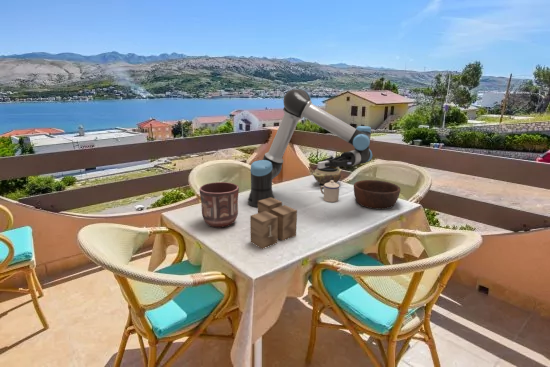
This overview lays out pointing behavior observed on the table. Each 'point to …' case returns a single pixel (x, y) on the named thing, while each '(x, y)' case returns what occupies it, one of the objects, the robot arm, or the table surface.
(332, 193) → the teacup with lid
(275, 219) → the walnut block marked 1
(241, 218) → the table surface
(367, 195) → the wooden bowl
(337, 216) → the table surface
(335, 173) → the ceramic bowl
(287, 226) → the brown wooden block
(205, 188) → the pottery
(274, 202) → the walnut block marked 2
